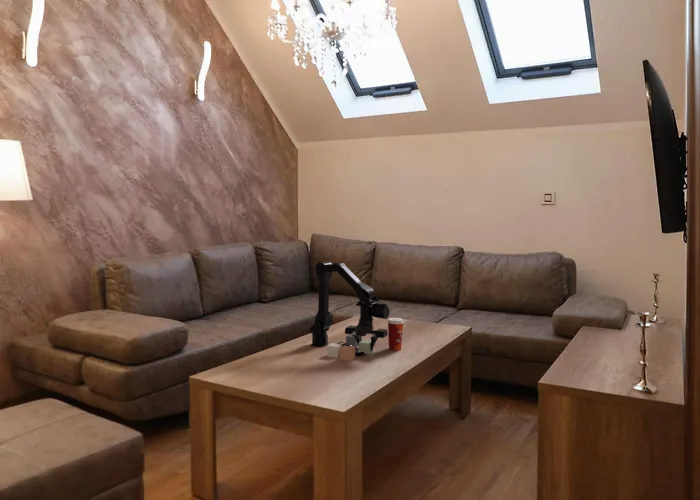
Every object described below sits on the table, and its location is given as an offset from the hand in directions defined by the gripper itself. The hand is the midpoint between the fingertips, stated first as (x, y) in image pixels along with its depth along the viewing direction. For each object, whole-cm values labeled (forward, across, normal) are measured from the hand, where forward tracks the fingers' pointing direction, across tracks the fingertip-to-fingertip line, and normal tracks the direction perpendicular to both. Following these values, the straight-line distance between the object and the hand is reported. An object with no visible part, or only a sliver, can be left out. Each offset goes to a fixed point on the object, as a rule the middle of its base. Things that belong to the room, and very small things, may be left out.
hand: (365, 350), depth 256 cm
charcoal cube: (+1, -10, +9) cm, 14 cm away
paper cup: (+1, +10, +12) cm, 16 cm away
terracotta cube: (+1, -4, -12) cm, 13 cm away
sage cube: (+1, 0, 0) cm, 1 cm away
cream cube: (+1, -11, -10) cm, 15 cm away
